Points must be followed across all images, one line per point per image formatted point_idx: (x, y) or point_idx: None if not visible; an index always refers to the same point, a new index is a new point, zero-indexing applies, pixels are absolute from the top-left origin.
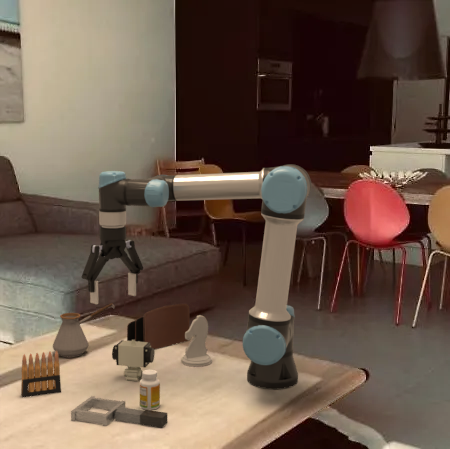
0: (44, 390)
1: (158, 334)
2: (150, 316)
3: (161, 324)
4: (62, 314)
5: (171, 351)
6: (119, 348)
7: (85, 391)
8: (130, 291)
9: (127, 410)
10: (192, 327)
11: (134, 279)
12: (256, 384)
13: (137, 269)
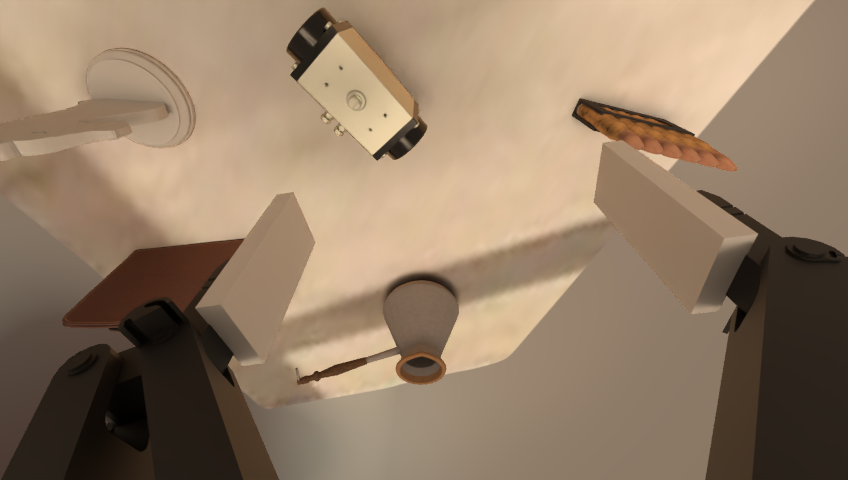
0: (623, 110)
1: (211, 263)
2: None
3: (187, 281)
4: (433, 381)
5: (201, 208)
6: (410, 110)
7: (530, 64)
8: (300, 238)
9: None
10: (68, 132)
11: (239, 268)
12: None
13: (145, 352)
